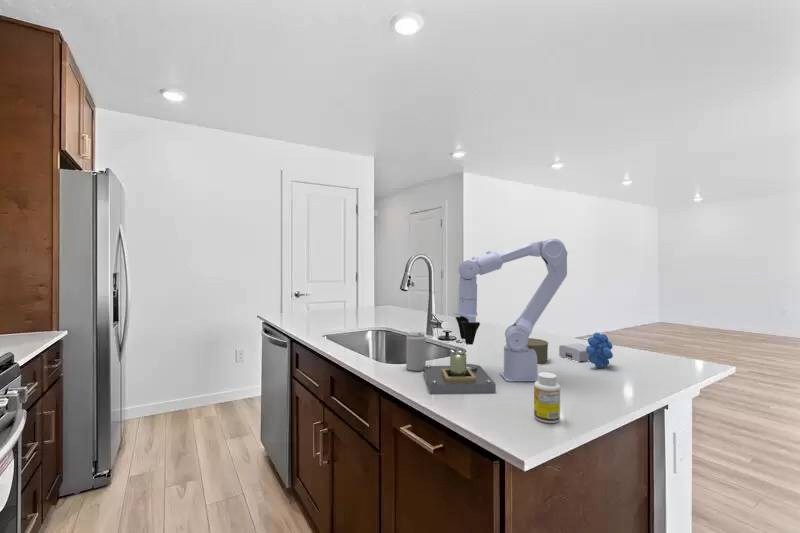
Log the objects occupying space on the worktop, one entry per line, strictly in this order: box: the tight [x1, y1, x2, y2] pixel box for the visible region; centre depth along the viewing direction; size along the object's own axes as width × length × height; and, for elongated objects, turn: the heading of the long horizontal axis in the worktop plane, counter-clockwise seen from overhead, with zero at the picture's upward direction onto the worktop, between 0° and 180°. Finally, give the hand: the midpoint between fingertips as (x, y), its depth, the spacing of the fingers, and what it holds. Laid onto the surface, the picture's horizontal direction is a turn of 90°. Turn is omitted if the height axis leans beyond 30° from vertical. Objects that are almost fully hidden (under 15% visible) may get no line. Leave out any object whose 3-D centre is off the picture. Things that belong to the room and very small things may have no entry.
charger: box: [558, 342, 590, 363], centre depth 142 cm, size 5×9×15 cm
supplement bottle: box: [533, 371, 561, 424], centre depth 88 cm, size 6×6×10 cm
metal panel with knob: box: [422, 363, 497, 395], centre depth 113 cm, size 18×18×4 cm
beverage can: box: [405, 331, 427, 372], centre depth 127 cm, size 6×6×12 cm
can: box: [527, 337, 549, 365], centre depth 138 cm, size 12×12×7 cm
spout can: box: [449, 349, 467, 377], centre depth 111 cm, size 5×5×10 cm
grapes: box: [586, 332, 614, 369], centre depth 128 cm, size 12×7×12 cm, turn 114°
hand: (466, 341), depth 121 cm, fingers open, 7 cm apart
